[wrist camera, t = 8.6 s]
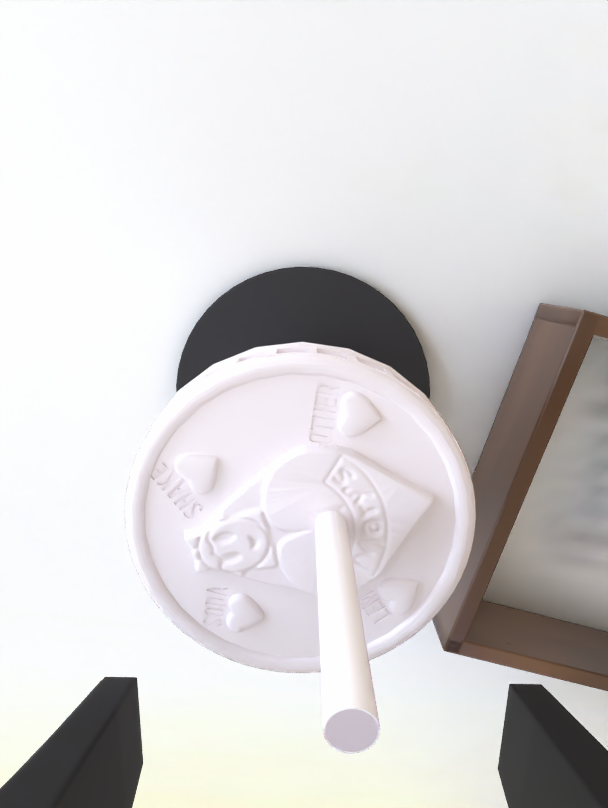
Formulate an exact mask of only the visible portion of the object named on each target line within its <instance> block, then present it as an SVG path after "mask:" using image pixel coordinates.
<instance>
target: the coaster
mask: <svg viewBox="0 0 608 808" xmlns="http://www.w3.org/2000/svg"><path fill="white" fill-rule="evenodd" d="M296 342H307V343H314V344H321V345H328V346H334V347H341V348H348V349H351V350H353V351H355V352H358V353H360V354H362V355H364V356H367V357H369V358H371V359H374V360H376V361H378V362H381V363H383V364H385V365H388V366H390V367H392V368H393V369H394V370H395V371H396V372H398V373H399V374H400V375H401V376H403V377H404V378H405V379H406V380H408V381H409V382H410V383H411V384H413V385H414V386H415V387H416V388H418V389H419V390H420V391H421V392H423V393H424V394H425V395H426V396H427V398H428V399H429V396H430V387H429V374H428V368H427V363H426V359H425V356H424V353H423V350H422V346H421V344H420V342H419V340H418V338H417V336H416V334H415V332H414V330H413V328H412V327H411V325H410V324H409V322H408V321H407V319H406V318H405V316H404V315H403V314H402V313H401V312H400V311H399V310H398V308H397V307H396V306H395V305H394V304H393V303H392V302H391V301H390V300H388V299H387V298H386V297H385V296H384V295H383V294H381V293H380V292H379V291H377V290H376V289H374V288H373V287H371V286H369V285H368V284H366V283H364V282H362V281H360V280H358V279H356V278H354V277H352V276H349V275H346V274H343V273H340V272H336V271H333V270H327V269H321V268H313V267H294V268H284V269H278V270H274V271H270V272H266V273H263V274H260V275H257V276H255V277H252V278H250V279H247V280H246V281H244V282H242V283H240V284H238V285H237V286H235V287H233V288H232V289H230V290H229V291H228V292H226V293H225V294H224V295H222V296H221V297H220V298H218V299H217V300H216V301H215V302H214V303H213V304H212V305H211V306H210V307H209V308H208V309H207V310H206V312H205V313H204V314H203V316H202V317H201V318H200V319H199V321H198V322H197V323H196V325H195V327H194V329H193V330H192V332H191V334H190V336H189V337H188V340H187V342H186V345H185V347H184V350H183V352H182V356H181V360H180V364H179V368H178V375H177V384H176V389H177V391H179V390H180V389H181V388H183V387H184V386H185V385H187V384H188V383H189V382H190V381H192V380H193V379H194V378H196V377H197V376H198V375H200V374H201V373H202V372H204V371H205V370H206V369H208V368H209V367H210V366H212V365H213V364H215V363H218V362H220V361H223V360H225V359H228V358H230V357H233V356H235V355H238V354H240V353H243V352H245V351H248V350H250V349H253V348H255V347H262V346H271V345H279V344H288V343H296Z"/></svg>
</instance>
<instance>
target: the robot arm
mask: <svg viewBox="0 0 608 808" xmlns="http://www.w3.org/2000/svg"><path fill="white" fill-rule="evenodd" d="M142 765H143V755H142V741H141V728H140V714H139V700H138V687H137V678H134V677H105V678H104V679H103V680H102V681H100V682H99V684H98V685H97V686H96V687H95V688H94V689H93V690H92V691H91V692H90V694H89V695H88V696H87V697H86V698H85V699H84V700H83V701H82V702H81V704H80V705H79V706H78V707H77V708H76V709H75V710H74V711H73V712H72V714H71V715H70V716H69V717H68V718H67V719H66V720H65V721H64V722H63V723H62V725H61V726H60V727H59V728H58V729H57V730H56V731H55V732H54V733H53V734H52V735H51V737H50V738H49V739H48V740H47V741H46V742H45V743H44V744H43V745H42V746H41V747H40V748H39V749H38V750H37V751H36V752H35V753H34V754H33V756H32V757H31V758H30V759H29V760H28V761H27V762H26V763H25V764H24V765H23V766H22V767H21V768H20V769H19V770H18V771H17V772H16V773H15V774H14V775H13V776H12V777H11V778H10V779H9V780H8V781H7V782H6V783H5V784H4V786H2V787H1V788H0V808H132V805H133V802H134V798H135V794H136V790H137V785H138V781H139V777H140V773H141V769H142ZM498 771H499V774H500V778H501V782H502V785H503V789H504V793H505V796H506V800H507V804H508V807H509V808H608V751H607V750H606V749H605V748H604V747H603V746H602V745H601V744H600V743H599V742H598V741H597V740H596V739H595V738H594V737H593V736H592V735H591V734H590V733H589V732H588V731H587V730H586V729H585V728H584V727H583V726H582V725H581V724H580V723H579V722H578V721H577V720H576V719H575V718H574V717H573V716H572V715H571V714H570V713H569V712H568V711H567V710H566V709H565V708H564V707H563V706H562V705H561V704H560V703H559V702H558V701H557V700H556V699H555V698H554V697H553V696H552V695H551V694H550V693H549V692H548V691H547V690H546V689H545V688H544V687H543V686H542V685H541V684H509V692H508V699H507V706H506V713H505V721H504V728H503V735H502V743H501V750H500V757H499V764H498Z"/></svg>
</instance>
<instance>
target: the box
mask: <svg viewBox="0 0 608 808" xmlns="http://www.w3.org/2000/svg"><path fill="white" fill-rule="evenodd" d="M593 337H595V338H598V339H601V340H605V341H608V317H607V316H603V315H600V314H597V313H593V312H590V311H587V310H582V309H575V308H569V307H563V306H556V305H550V304H544V303H540V305H539V308H538V310H537V313H536V315H535V318H534V321H533V324H532V326H531V329H530V331H529V334H528V336H527V339H526V342H525V344H524V347H523V349H522V352H521V354H520V357H519V360H518V362H517V365H516V367H515V370H514V372H513V375H512V377H511V380H510V383H509V385H508V388H507V390H506V393H505V395H504V398H503V400H502V403H501V406H500V408H499V411H498V413H497V416H496V418H495V421H494V423H493V426H492V429H491V431H490V434H489V436H488V439H487V441H486V444H485V446H484V449H483V452H482V454H481V457H480V459H479V462H478V464H477V467H476V470H475V472H474V475H473V477H472V483H473V488H474V496H475V509H476V520H475V532H474V538H473V543H472V548H471V552H470V555H469V558H468V562H467V565H466V567H465V569H464V572H463V574H462V576H461V579H460V580H459V582H458V584H457V586H456V588H455V590H454V591H453V593H452V594H451V596H450V597H449V599H448V600H447V602H446V603H445V605H444V606H443V607H442V608H441V609H440V611H439V612H438V613H437V614H436V615H435V616H434V617H433V618H432V620H433V623H434V625H435V628H436V631H437V634H438V636H439V639H440V642H441V645H442V648H443V650H444V651H447V652H451V653H455V654H459V655H463V656H467V657H471V658H475V659H479V660H483V661H487V662H491V663H495V664H500V665H504V666H508V667H512V668H516V669H520V670H524V671H528V672H532V673H536V674H540V675H544V676H548V677H552V678H557V679H561V680H565V681H569V682H573V683H577V684H581V685H585V686H589V687H593V688H597V689H601V690H605V691H608V632H604V631H600V630H596V629H592V628H588V627H584V626H580V625H576V624H572V623H568V622H565V621H561V620H557V619H553V618H549V617H545V616H541V615H537V614H533V613H529V612H525V611H521V610H517V609H513V608H509V607H505V606H502V605H498V604H494V603H490V602H486V601H482V598H483V596H484V593H485V591H486V589H487V586H488V584H489V582H490V579H491V577H492V575H493V572H494V570H495V567H496V565H497V563H498V560H499V558H500V556H501V553H502V551H503V548H504V546H505V544H506V541H507V539H508V537H509V534H510V532H511V530H512V527H513V525H514V522H515V520H516V518H517V515H518V513H519V511H520V508H521V506H522V504H523V501H524V499H525V496H526V494H527V492H528V489H529V487H530V485H531V482H532V480H533V477H534V475H535V473H536V470H537V468H538V466H539V463H540V461H541V459H542V456H543V454H544V451H545V449H546V447H547V444H548V442H549V440H550V437H551V435H552V432H553V430H554V428H555V425H556V423H557V421H558V418H559V416H560V414H561V411H562V409H563V406H564V404H565V402H566V399H567V397H568V395H569V392H570V390H571V387H572V385H573V383H574V380H575V378H576V376H577V373H578V371H579V369H580V366H581V364H582V361H583V359H584V357H585V354H586V352H587V350H588V347H589V345H590V342H591V340H592V338H593Z"/></svg>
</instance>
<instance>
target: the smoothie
mask: <svg viewBox="0 0 608 808" xmlns="http://www.w3.org/2000/svg"><path fill="white" fill-rule="evenodd" d="M475 520H476V509H475V496H474V488H473V483H472V479H471V475H470V471H469V468H468V466H467V463H466V460H465V457H464V455H463V453H462V451H461V449H460V447H459V445H458V443H457V441H456V439H455V437H454V436H453V434H452V433H451V431H450V429H449V427H448V426H447V425H446V423H445V422H444V420H443V419H442V418H441V416H440V415H439V413H438V412H437V411H436V409H435V408H434V406H433V405H432V403H431V402H430V401H429V399H428V398H427V396H426V395H425V394H424V393H423V392H421V391H420V390H419V389H418V388H416V387H415V386H414V385H413V384H411V383H410V382H409V381H408V380H406V379H405V378H404V377H403V376H401V375H400V374H399V373H398V372H396V371H395V370H394V369H393V368H392V367H390V366H388V365H385V364H383V363H381V362H378V361H376V360H374V359H371V358H369V357H367V356H364V355H362V354H360V353H358V352H355V351H353V350H351V349H348V348H341V347H334V346H328V345H321V344H314V343H307V342H296V343H288V344H279V345H271V346H262V347H255V348H253V349H250V350H248V351H245V352H243V353H240V354H238V355H235V356H233V357H230V358H228V359H225V360H223V361H220V362H218V363H215V364H213V365H212V366H210V367H209V368H208V369H206V370H205V371H204V372H202V373H201V374H200V375H198V376H197V377H196V378H194V379H193V380H192V381H190V382H189V383H188V384H187V385H185V386H184V387H183V388H181V389H180V390H179V391H177V393H176V394H175V395H174V397H173V398H172V399H171V401H170V402H169V403H168V405H167V406H166V407H165V409H164V410H163V411H162V413H161V414H160V415H159V417H158V418H157V419H156V421H155V422H154V423H153V425H152V427H151V429H150V431H149V433H148V434H147V436H146V438H145V439H144V441H143V443H142V445H141V447H140V449H139V451H138V453H137V455H136V458H135V460H134V463H133V466H132V469H131V472H130V476H129V481H128V485H127V491H126V499H125V526H126V536H127V540H128V545H129V550H130V553H131V556H132V559H133V563H134V565H135V568H136V570H137V572H138V575H139V577H140V579H141V581H142V583H143V585H144V586H145V588H146V590H147V592H148V593H149V595H150V596H151V598H152V599H153V600H154V602H155V603H156V605H157V606H158V607H159V608H160V609H161V611H162V612H163V613H164V614H165V615H166V616H167V618H168V619H170V620H171V621H172V622H173V623H174V624H175V625H176V626H177V627H178V628H179V629H180V630H181V631H183V632H184V633H185V634H186V635H188V636H189V637H190V638H192V639H193V640H195V641H196V642H198V643H199V644H201V645H202V646H204V647H205V648H207V649H209V650H211V651H213V652H215V653H216V654H218V655H221V656H223V657H225V658H228V659H230V660H232V661H235V662H238V663H241V664H244V665H247V666H251V667H255V668H259V669H264V670H270V671H276V672H287V673H315V672H321V686H322V711H323V733H324V737H325V740H326V741H327V743H328V744H329V745H330V746H331V747H332V748H334V749H335V750H337V751H340V752H343V753H352V754H353V753H359V752H363V751H365V750H367V749H369V748H370V747H372V746H373V745H374V744H375V743H376V741H377V740H378V737H379V735H380V725H379V719H378V713H377V707H376V701H375V695H374V689H373V683H372V676H371V670H370V664H369V660H371V659H374V658H376V657H378V656H380V655H383V654H385V653H387V652H388V651H390V650H392V649H394V648H396V647H397V646H399V645H401V644H402V643H404V642H405V641H406V640H408V639H409V638H411V637H412V636H413V635H415V634H416V633H417V632H418V631H420V630H421V629H422V628H423V627H424V626H425V625H426V624H427V623H428V622H429V621H430V620H431V619H432V618H433V617H434V616H435V615H436V614H437V613H438V612H439V611H440V609H441V608H442V607H443V606H444V605H445V603H446V602H447V600H448V599H449V597H450V596H451V594H452V593H453V591H454V590H455V588H456V586H457V584H458V582H459V580H460V579H461V576H462V574H463V572H464V569H465V567H466V565H467V562H468V558H469V555H470V552H471V548H472V543H473V538H474V532H475Z"/></svg>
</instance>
